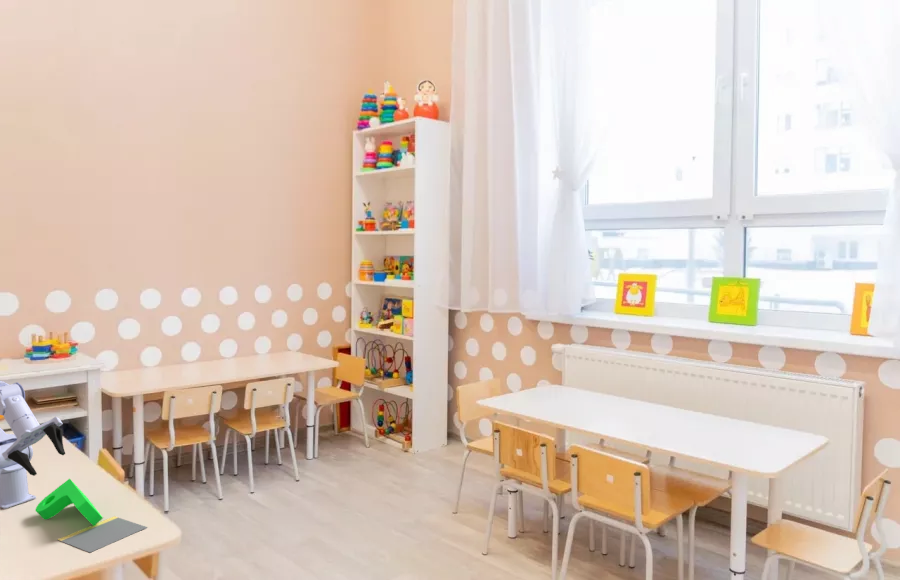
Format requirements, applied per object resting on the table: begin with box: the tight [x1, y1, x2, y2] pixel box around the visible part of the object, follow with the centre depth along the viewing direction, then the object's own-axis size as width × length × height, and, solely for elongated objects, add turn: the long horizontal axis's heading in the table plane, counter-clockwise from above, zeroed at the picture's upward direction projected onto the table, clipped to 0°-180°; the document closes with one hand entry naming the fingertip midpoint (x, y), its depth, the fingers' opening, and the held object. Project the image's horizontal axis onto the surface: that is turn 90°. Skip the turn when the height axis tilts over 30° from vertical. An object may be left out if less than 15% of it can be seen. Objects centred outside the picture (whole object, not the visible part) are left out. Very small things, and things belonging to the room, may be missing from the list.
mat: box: [57, 515, 148, 554], centre depth 160 cm, size 13×14×1 cm
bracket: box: [35, 478, 104, 526], centre depth 167 cm, size 20×10×7 cm
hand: (48, 463), depth 170 cm, fingers open, 7 cm apart
